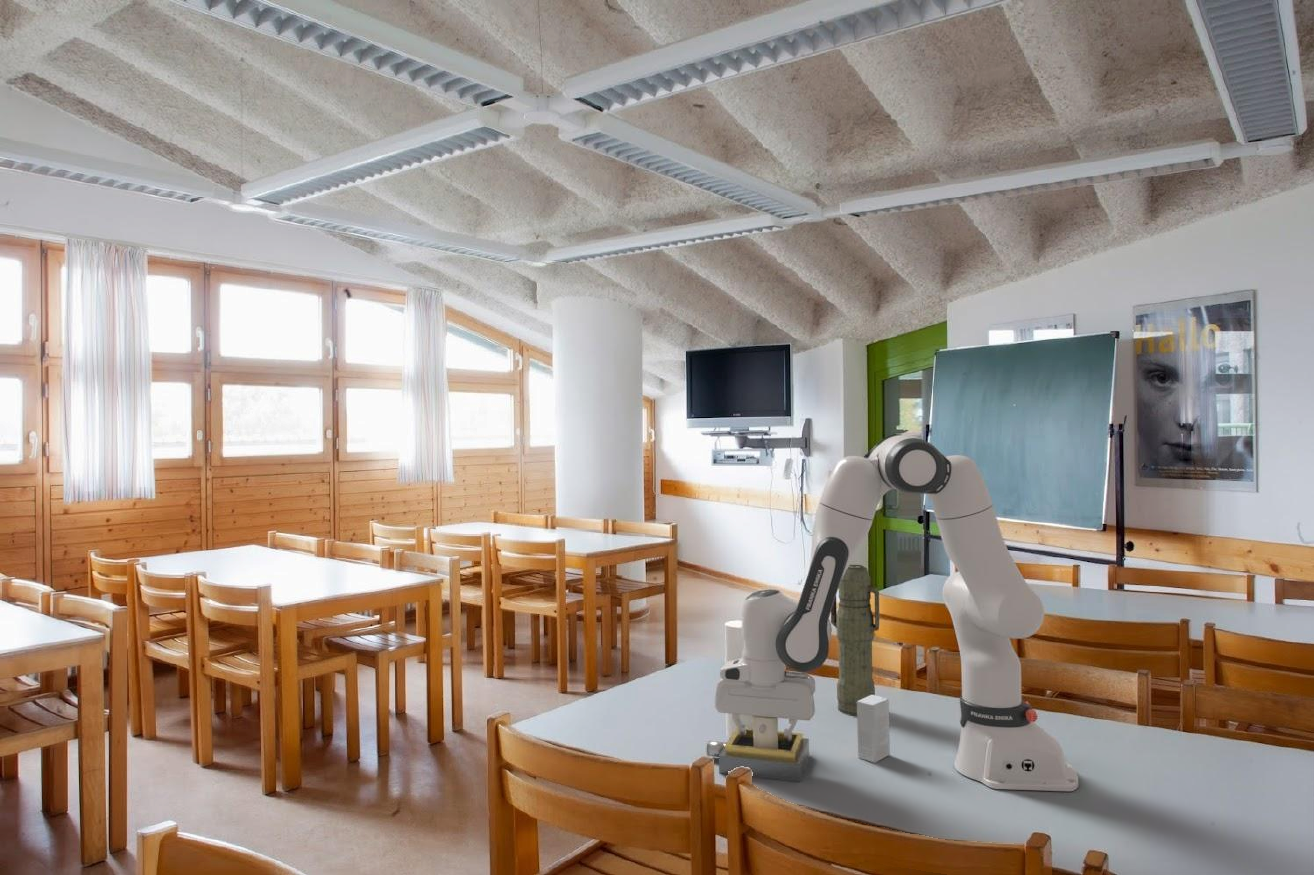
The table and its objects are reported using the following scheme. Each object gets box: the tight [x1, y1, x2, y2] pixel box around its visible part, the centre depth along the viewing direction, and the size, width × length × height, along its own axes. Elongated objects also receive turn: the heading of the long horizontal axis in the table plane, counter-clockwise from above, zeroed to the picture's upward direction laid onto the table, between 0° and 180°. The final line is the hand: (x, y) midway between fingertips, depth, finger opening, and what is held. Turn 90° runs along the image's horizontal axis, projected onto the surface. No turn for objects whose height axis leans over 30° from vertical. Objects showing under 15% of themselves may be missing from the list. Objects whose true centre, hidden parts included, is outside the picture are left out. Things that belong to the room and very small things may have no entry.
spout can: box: [753, 716, 779, 749], centre depth 173 cm, size 5×7×10 cm
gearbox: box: [705, 727, 810, 783], centre depth 174 cm, size 20×14×5 cm
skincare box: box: [856, 694, 891, 763], centre depth 177 cm, size 6×4×12 cm
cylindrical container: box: [724, 619, 753, 739], centre depth 190 cm, size 7×7×25 cm
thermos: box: [830, 564, 880, 716], centre depth 206 cm, size 9×12×35 cm
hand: (764, 736), depth 174 cm, fingers open, 8 cm apart
